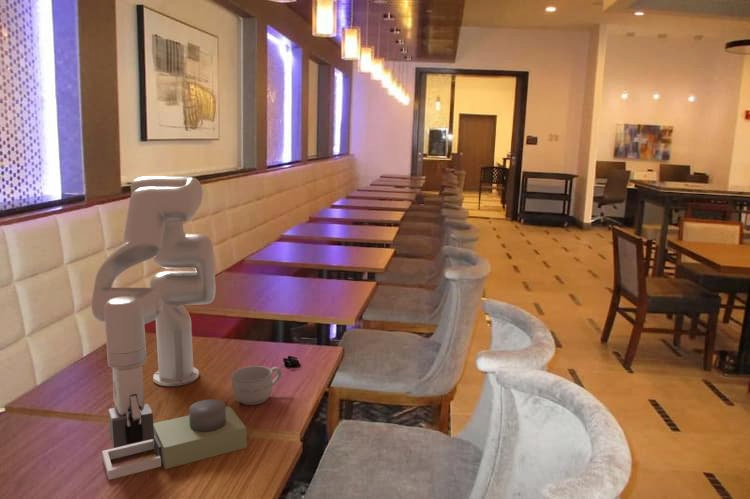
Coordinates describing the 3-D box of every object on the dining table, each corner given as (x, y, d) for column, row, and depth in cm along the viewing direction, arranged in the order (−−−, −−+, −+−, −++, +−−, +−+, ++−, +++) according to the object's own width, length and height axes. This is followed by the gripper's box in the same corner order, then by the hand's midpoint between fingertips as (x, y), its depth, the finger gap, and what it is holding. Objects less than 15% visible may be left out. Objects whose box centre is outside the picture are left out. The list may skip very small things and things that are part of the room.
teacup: (238, 412, 155) (237, 383, 153) (227, 395, 164) (226, 367, 162) (289, 402, 161) (289, 374, 159) (276, 386, 170) (276, 359, 169)
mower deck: (101, 455, 134) (98, 418, 132) (230, 425, 148) (229, 390, 146) (109, 483, 124) (106, 443, 122) (246, 447, 138) (245, 411, 136)
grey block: (110, 437, 130) (108, 409, 129) (149, 428, 134) (147, 401, 133) (114, 448, 126) (112, 418, 125) (154, 438, 130) (152, 410, 129)
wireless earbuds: (300, 366, 182) (284, 361, 181) (297, 373, 182) (281, 369, 181) (299, 357, 189) (283, 353, 188) (296, 364, 189) (281, 360, 188)
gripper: (102, 346, 132) (108, 423, 135) (113, 373, 117) (119, 458, 121) (138, 340, 135) (143, 415, 139) (154, 366, 121) (158, 449, 125)
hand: (132, 434), depth 130 cm, fingers closed on grey block, 5 cm apart
